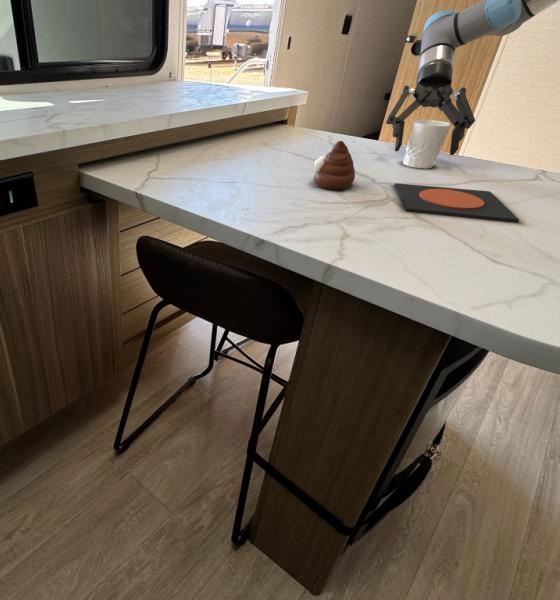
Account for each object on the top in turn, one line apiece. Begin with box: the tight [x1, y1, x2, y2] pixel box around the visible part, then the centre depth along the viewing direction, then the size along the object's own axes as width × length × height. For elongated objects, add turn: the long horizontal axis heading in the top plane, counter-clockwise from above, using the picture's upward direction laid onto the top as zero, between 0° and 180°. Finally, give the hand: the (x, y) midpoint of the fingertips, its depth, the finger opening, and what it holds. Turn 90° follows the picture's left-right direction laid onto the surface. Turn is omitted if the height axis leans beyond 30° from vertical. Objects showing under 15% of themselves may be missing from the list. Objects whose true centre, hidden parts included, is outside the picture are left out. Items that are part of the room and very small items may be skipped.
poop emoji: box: [313, 140, 356, 191], centre depth 89 cm, size 10×8×9 cm
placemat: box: [393, 182, 520, 223], centre depth 82 cm, size 18×16×1 cm
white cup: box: [402, 119, 452, 169], centre depth 102 cm, size 8×8×10 cm
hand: (425, 149), depth 100 cm, fingers open, 11 cm apart
